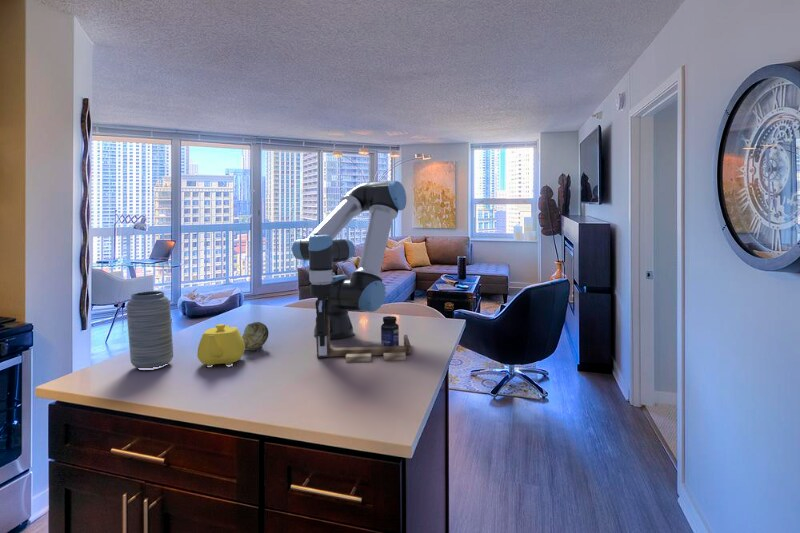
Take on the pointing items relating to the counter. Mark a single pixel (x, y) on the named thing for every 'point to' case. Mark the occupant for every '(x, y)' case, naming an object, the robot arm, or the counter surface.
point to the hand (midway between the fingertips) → (323, 352)
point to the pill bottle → (389, 332)
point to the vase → (149, 329)
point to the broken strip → (368, 357)
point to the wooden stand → (361, 350)
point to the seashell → (255, 335)
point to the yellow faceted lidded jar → (220, 345)
